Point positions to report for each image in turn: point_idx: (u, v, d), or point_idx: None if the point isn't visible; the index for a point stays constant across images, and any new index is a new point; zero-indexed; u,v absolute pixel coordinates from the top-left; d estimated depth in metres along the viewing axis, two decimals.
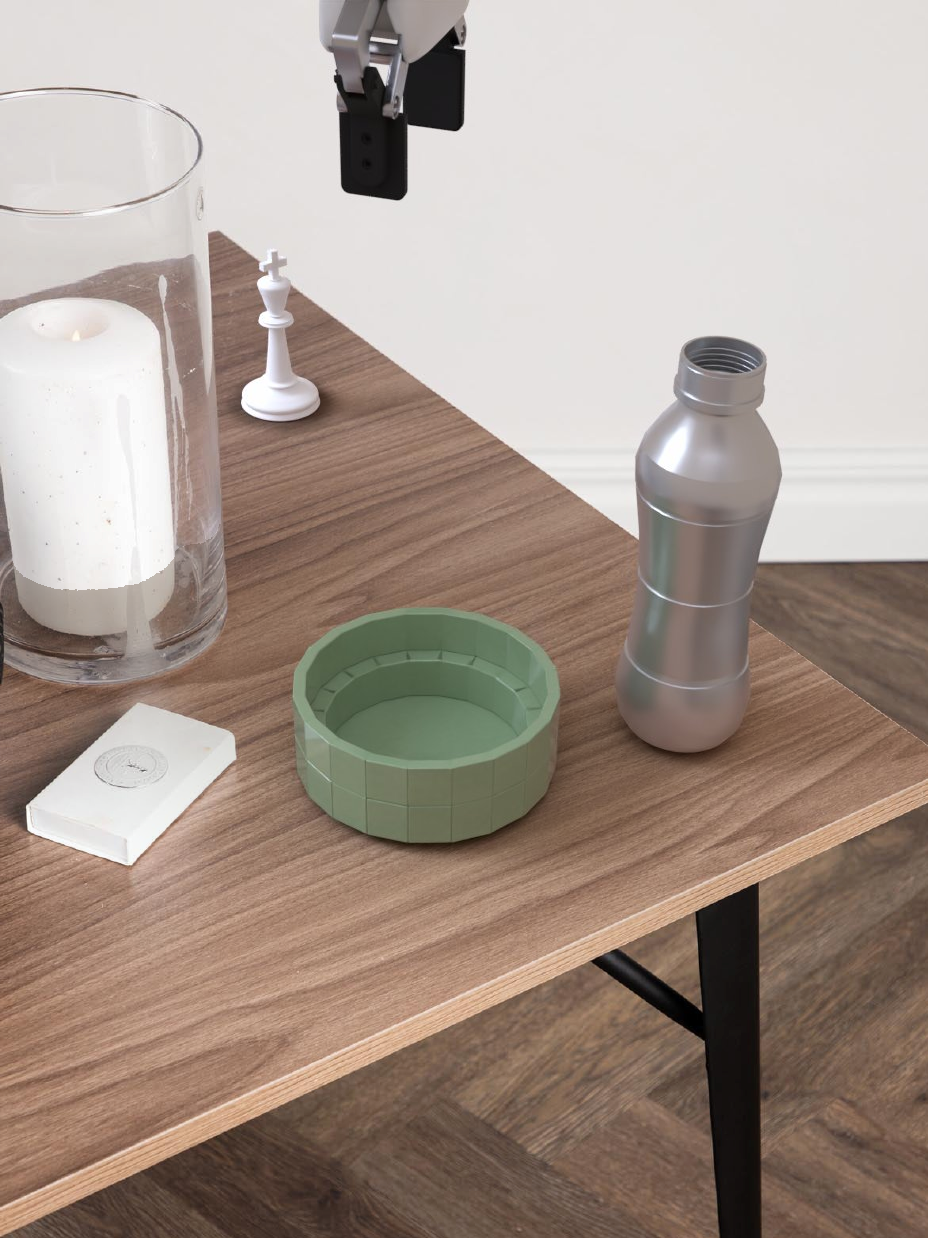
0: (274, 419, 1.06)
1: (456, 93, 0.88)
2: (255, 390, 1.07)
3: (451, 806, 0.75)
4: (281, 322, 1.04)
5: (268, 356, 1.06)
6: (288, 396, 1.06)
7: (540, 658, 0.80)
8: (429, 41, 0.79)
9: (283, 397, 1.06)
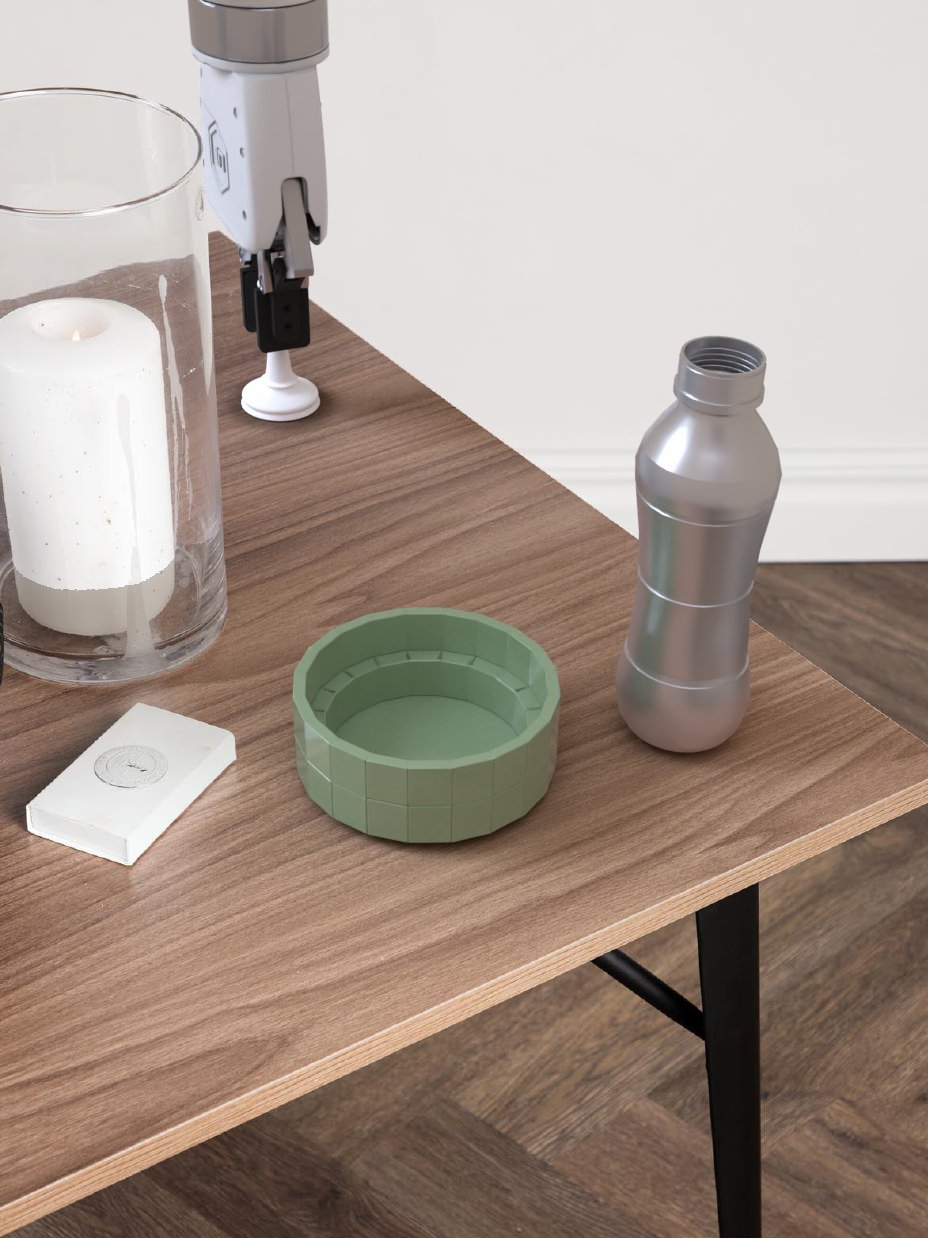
0: (274, 419, 1.06)
1: None
2: (255, 390, 1.07)
3: (451, 806, 0.75)
4: None
5: (268, 356, 1.06)
6: (288, 396, 1.06)
7: (540, 658, 0.80)
8: None
9: (283, 396, 1.06)
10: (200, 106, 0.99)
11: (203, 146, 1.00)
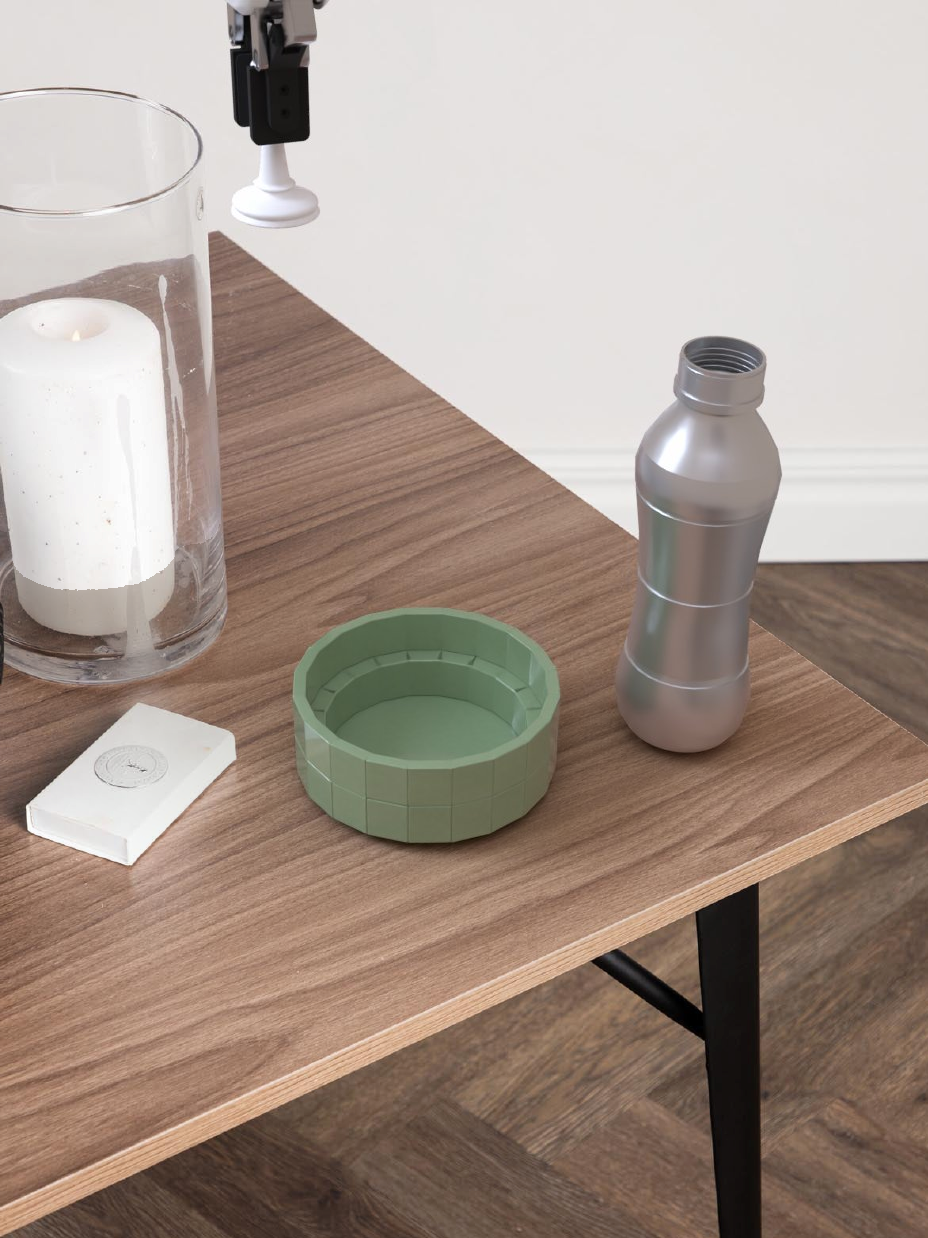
0: (269, 226, 0.94)
1: None
2: (246, 195, 0.95)
3: (451, 806, 0.75)
4: None
5: (262, 154, 0.93)
6: (284, 201, 0.94)
7: (540, 658, 0.80)
8: None
9: (279, 201, 0.94)
10: None
11: None
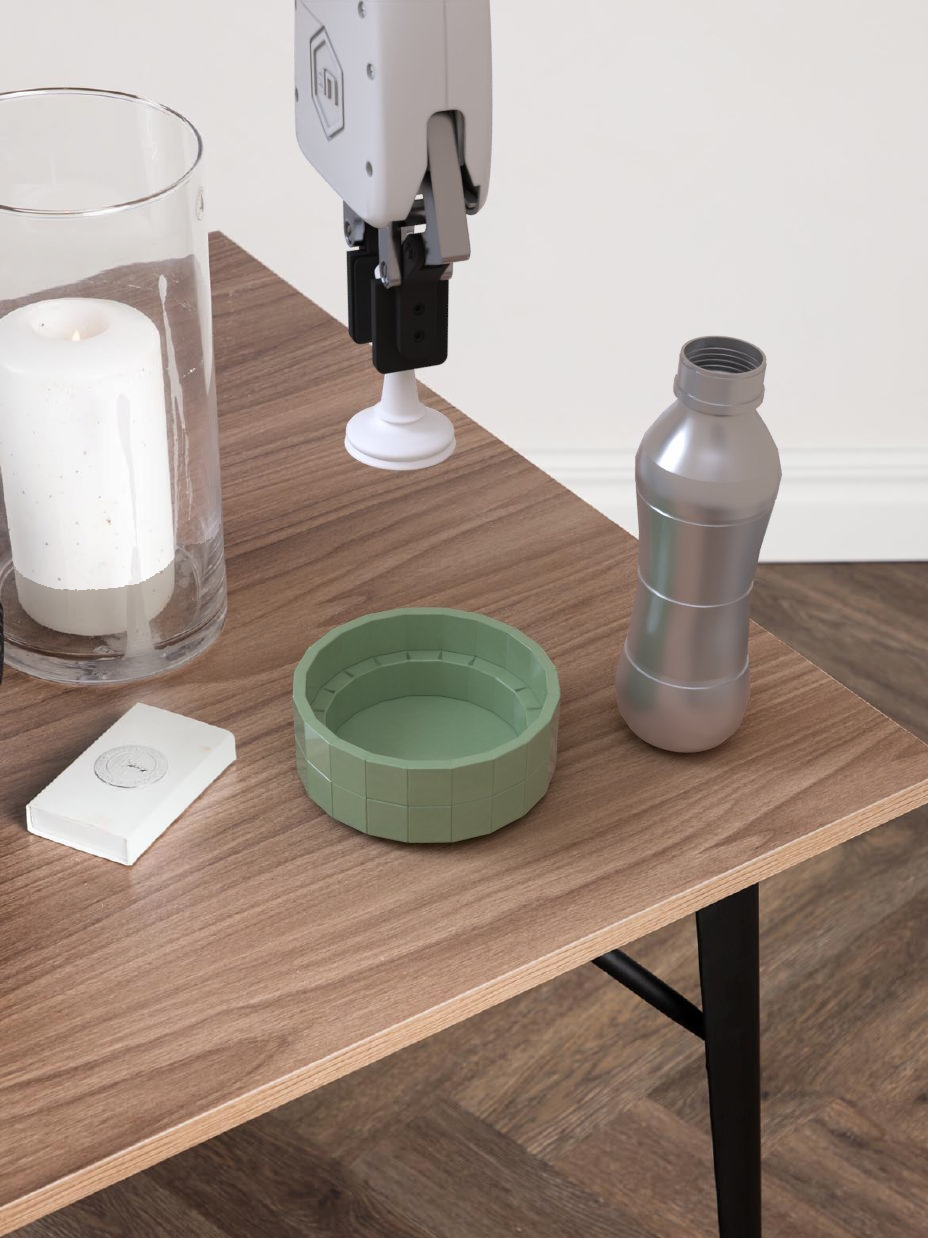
0: (395, 468, 0.74)
1: None
2: (365, 427, 0.75)
3: (451, 806, 0.75)
4: None
5: (386, 377, 0.73)
6: (414, 435, 0.74)
7: (540, 658, 0.80)
8: None
9: (407, 435, 0.74)
10: (295, 10, 0.67)
11: (298, 70, 0.68)
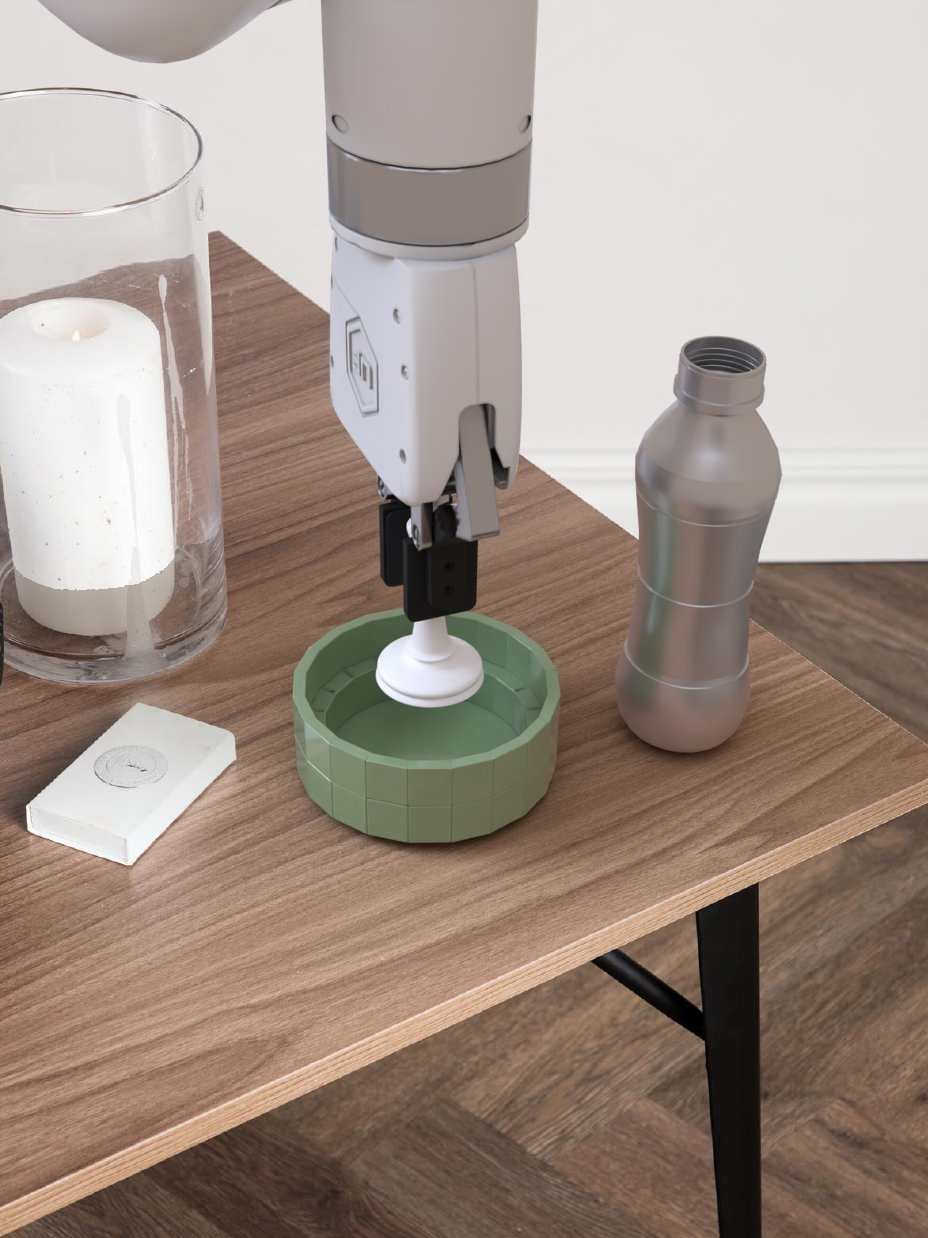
0: (425, 705, 0.76)
1: None
2: (396, 663, 0.77)
3: (451, 806, 0.75)
4: None
5: None
6: (443, 672, 0.76)
7: (540, 658, 0.80)
8: None
9: (437, 673, 0.76)
10: (331, 287, 0.69)
11: (333, 342, 0.70)
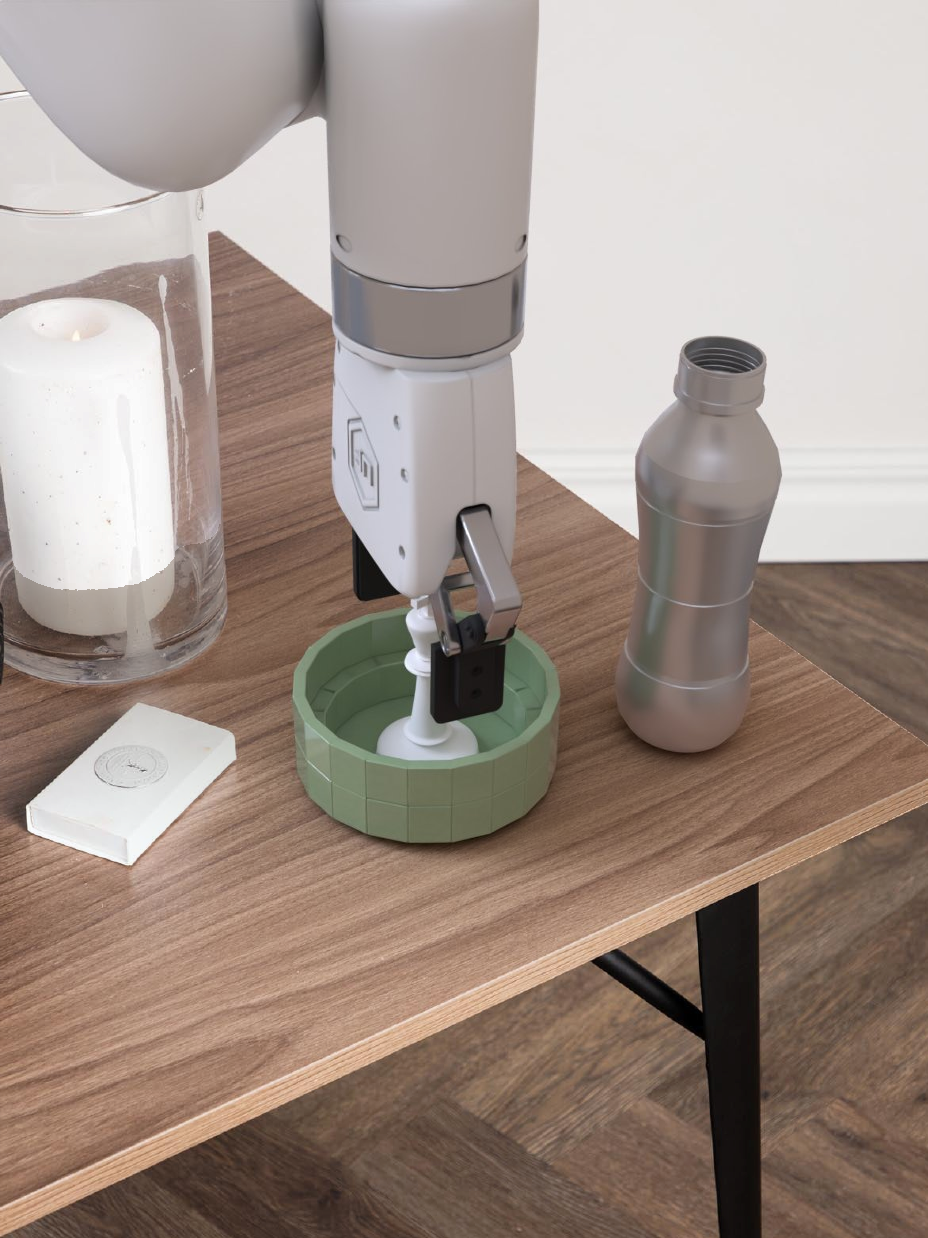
0: None
1: None
2: (395, 746, 0.80)
3: (451, 806, 0.75)
4: None
5: (415, 705, 0.79)
6: (440, 755, 0.80)
7: (540, 658, 0.80)
8: None
9: (434, 756, 0.79)
10: (333, 385, 0.72)
11: (335, 435, 0.73)
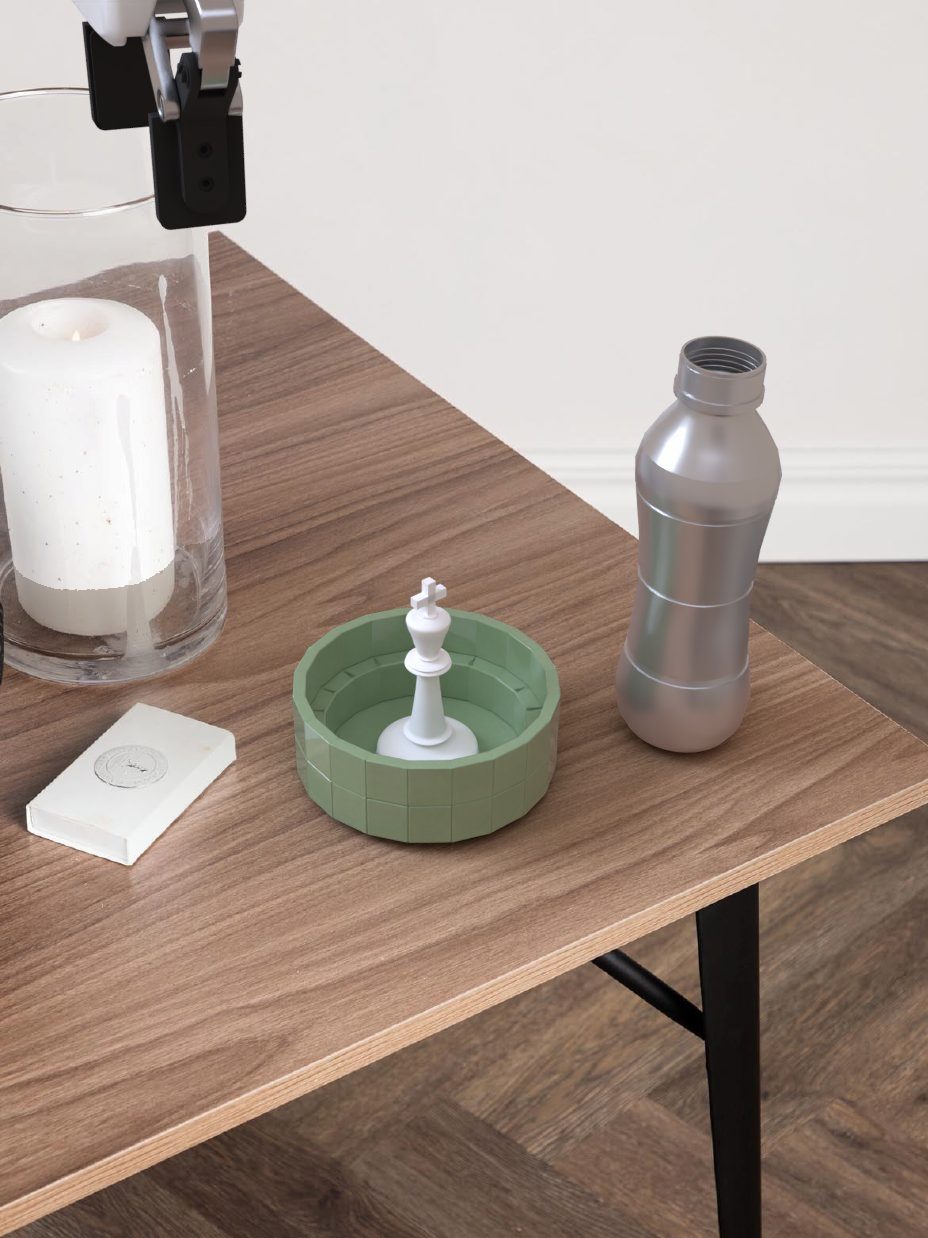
0: None
1: None
2: (395, 746, 0.80)
3: (451, 806, 0.75)
4: (436, 668, 0.77)
5: (415, 705, 0.79)
6: (440, 755, 0.80)
7: (540, 658, 0.80)
8: None
9: (434, 756, 0.79)
10: None
11: None
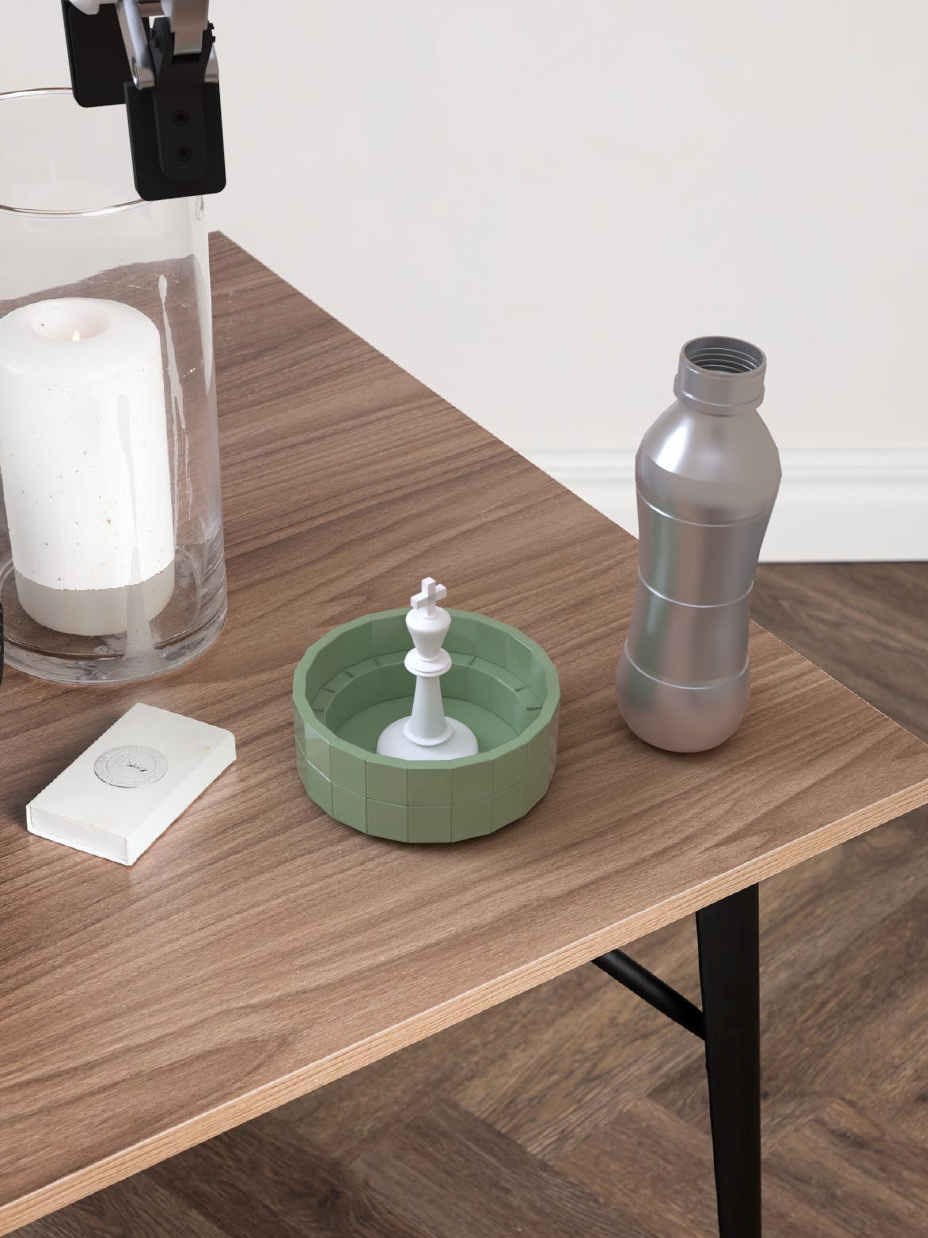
0: None
1: None
2: (395, 746, 0.80)
3: (451, 806, 0.75)
4: (436, 668, 0.77)
5: (415, 705, 0.79)
6: (440, 755, 0.80)
7: (540, 658, 0.80)
8: None
9: (434, 756, 0.79)
10: None
11: None
